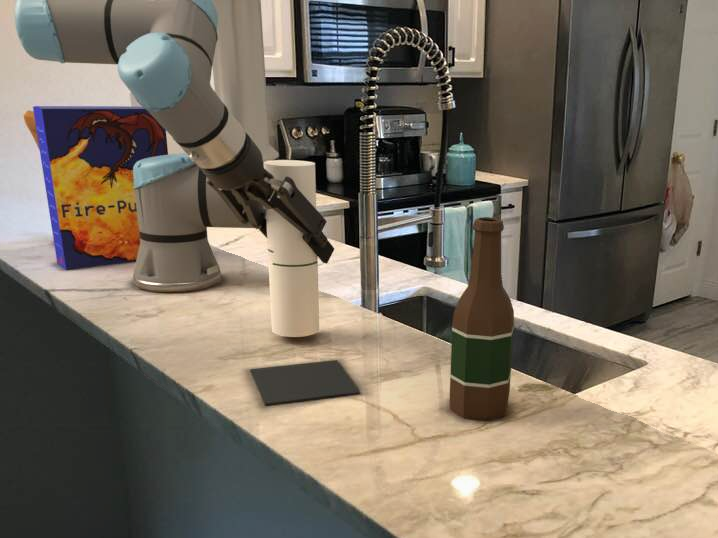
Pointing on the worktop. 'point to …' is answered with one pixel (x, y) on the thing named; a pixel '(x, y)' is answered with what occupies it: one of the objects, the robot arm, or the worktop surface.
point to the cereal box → (95, 179)
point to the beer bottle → (482, 332)
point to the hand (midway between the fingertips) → (307, 252)
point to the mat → (302, 382)
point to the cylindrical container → (292, 259)
